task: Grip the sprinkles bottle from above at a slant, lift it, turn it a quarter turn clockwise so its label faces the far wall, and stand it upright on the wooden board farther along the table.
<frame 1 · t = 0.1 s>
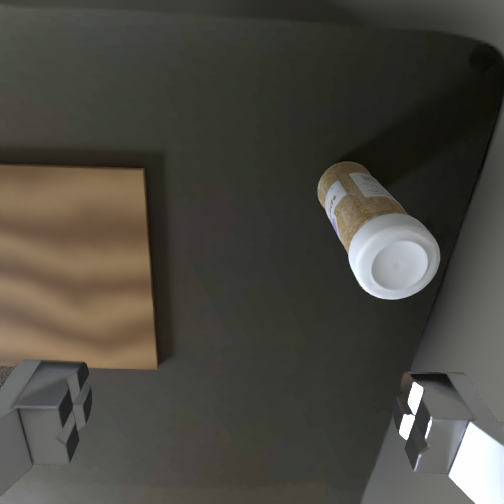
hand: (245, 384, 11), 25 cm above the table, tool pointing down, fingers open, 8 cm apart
wooden board: (61, 275, 38), on the table
sprinkles bottle: (344, 186, 35), on the table
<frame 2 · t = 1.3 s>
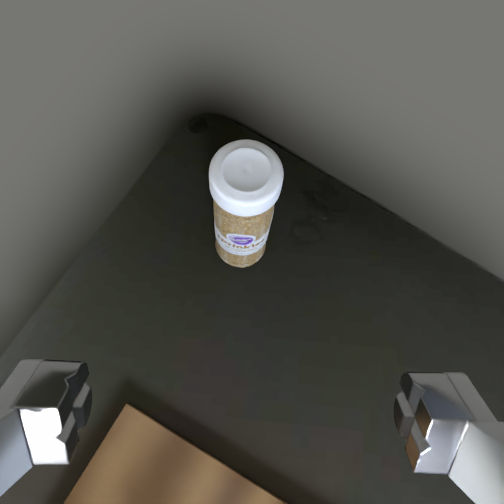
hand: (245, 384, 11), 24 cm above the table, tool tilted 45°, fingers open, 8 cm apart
sprinkles bottle: (241, 244, 38), on the table
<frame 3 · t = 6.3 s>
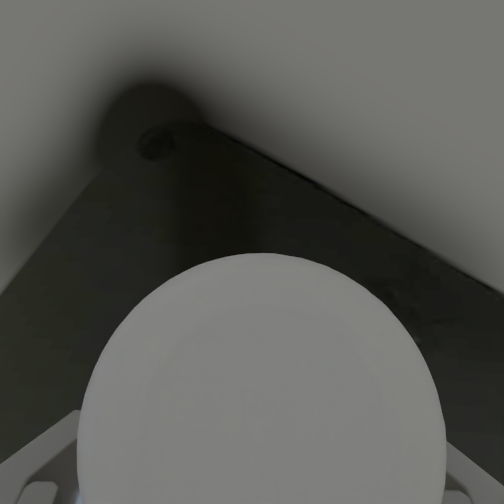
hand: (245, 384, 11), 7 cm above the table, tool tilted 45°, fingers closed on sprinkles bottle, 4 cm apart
sprinkles bottle: (241, 403, 18), on the table, touching gripper
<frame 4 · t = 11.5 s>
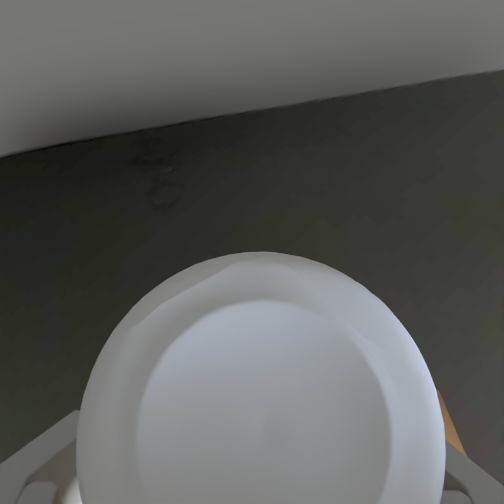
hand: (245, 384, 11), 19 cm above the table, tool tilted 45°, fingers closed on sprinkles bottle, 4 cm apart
sprinkles bottle: (241, 403, 18), point 12 cm above the table, touching gripper
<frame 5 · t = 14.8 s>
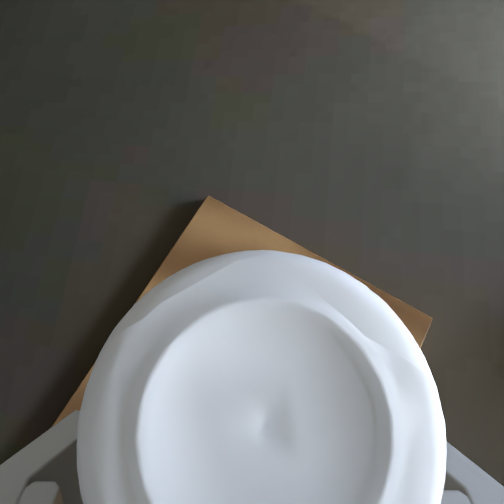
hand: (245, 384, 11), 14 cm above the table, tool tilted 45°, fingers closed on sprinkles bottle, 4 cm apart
wooden board: (236, 400, 24), on the table
sprinkles bottle: (241, 402, 18), point 7 cm above the table, touching gripper
when the fingers open (8 cm above the table, at t = 17.0 s): sprinkles bottle stays where it is, resting on wooden board.
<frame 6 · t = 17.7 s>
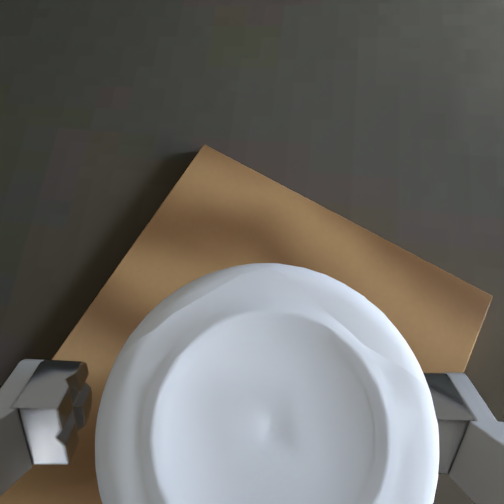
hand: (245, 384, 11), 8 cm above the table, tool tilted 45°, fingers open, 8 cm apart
wooden board: (240, 402, 19), on the table
sprinkles bottle: (243, 403, 18), resting on wooden board
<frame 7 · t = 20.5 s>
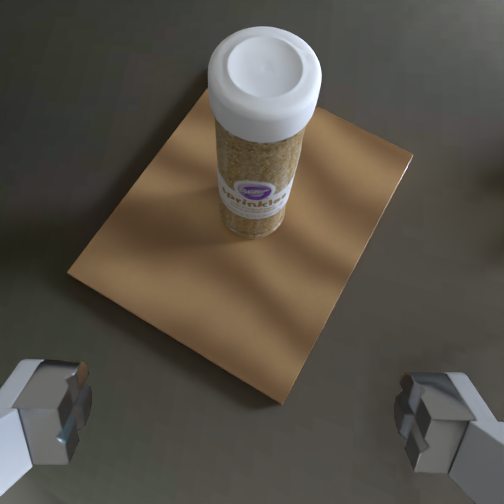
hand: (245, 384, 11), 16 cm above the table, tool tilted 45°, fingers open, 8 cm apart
wooden board: (250, 213, 30), on the table
sprinkles bottle: (252, 210, 29), resting on wooden board
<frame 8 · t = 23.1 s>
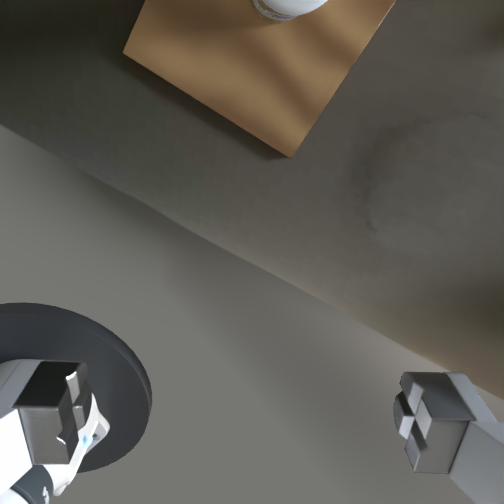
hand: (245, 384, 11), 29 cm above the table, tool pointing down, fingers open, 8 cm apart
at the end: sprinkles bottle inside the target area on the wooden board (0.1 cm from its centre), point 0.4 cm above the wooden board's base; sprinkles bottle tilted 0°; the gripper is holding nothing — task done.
